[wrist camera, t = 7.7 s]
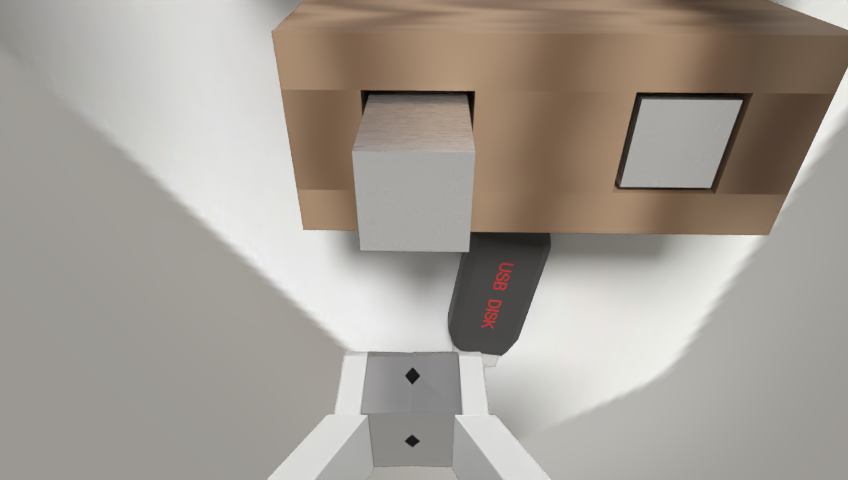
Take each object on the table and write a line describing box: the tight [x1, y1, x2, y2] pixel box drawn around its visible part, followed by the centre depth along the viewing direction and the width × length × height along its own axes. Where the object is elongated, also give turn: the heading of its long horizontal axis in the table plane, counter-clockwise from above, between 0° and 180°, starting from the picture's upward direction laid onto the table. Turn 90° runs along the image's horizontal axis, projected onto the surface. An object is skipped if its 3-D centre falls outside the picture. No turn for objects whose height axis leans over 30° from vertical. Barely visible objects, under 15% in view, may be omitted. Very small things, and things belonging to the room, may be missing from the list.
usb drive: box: [448, 232, 551, 367], centre depth 36 cm, size 5×12×3 cm, turn 172°
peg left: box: [352, 90, 475, 252], centre depth 21 cm, size 4×4×7 cm
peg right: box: [616, 92, 743, 188], centre depth 25 cm, size 4×4×7 cm
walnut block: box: [272, 0, 848, 235], centre depth 25 cm, size 22×9×8 cm, turn 90°
